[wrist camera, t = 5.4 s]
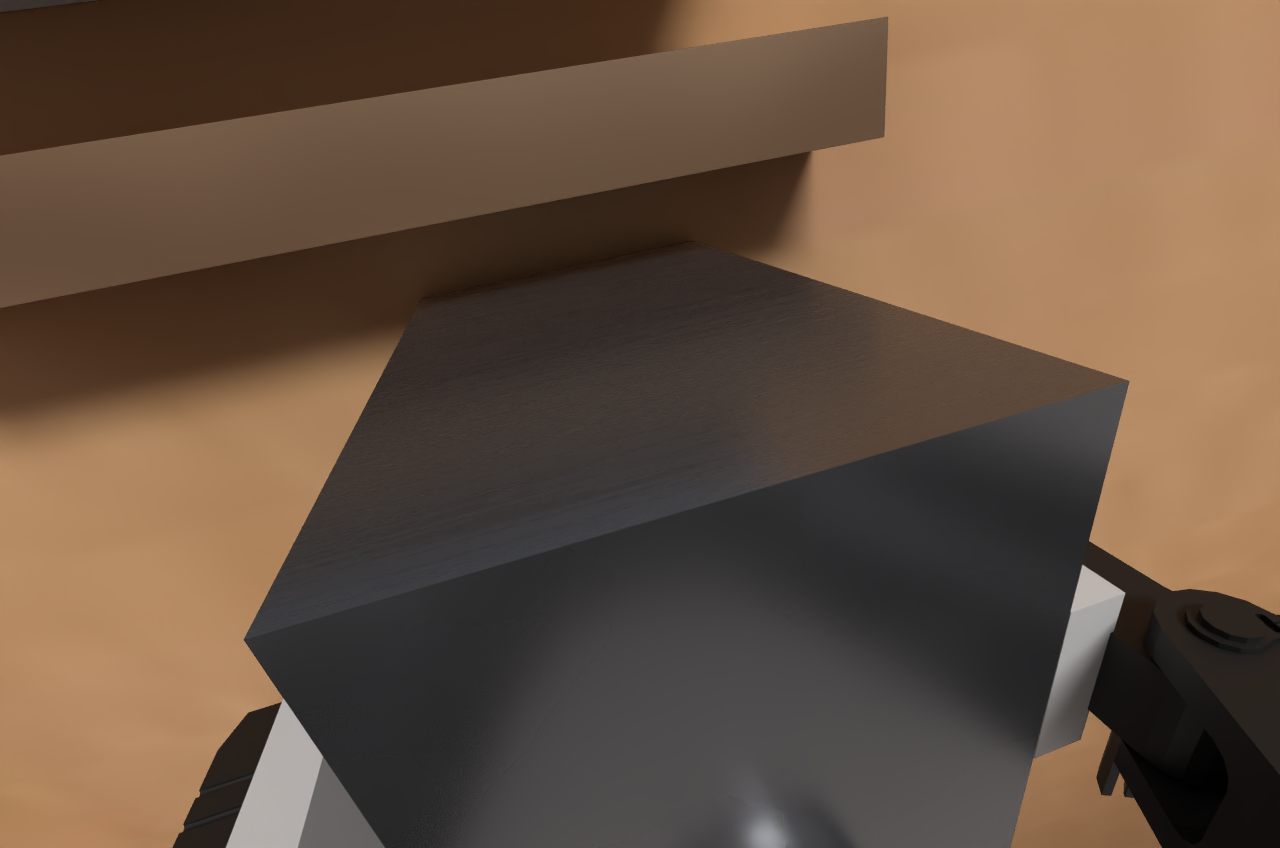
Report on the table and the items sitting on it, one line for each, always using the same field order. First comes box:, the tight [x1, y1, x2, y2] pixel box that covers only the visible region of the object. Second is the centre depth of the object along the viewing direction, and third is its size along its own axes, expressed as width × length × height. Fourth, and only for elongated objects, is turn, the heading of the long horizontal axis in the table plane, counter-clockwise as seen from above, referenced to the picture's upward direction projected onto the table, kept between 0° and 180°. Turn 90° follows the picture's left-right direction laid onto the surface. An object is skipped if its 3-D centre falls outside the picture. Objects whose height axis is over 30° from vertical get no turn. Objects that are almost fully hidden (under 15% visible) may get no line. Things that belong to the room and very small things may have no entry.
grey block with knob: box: [244, 241, 1129, 848], centre depth 8 cm, size 10×5×9 cm, turn 10°
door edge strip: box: [0, 17, 888, 308], centre depth 8 cm, size 2×14×2 cm, turn 100°
